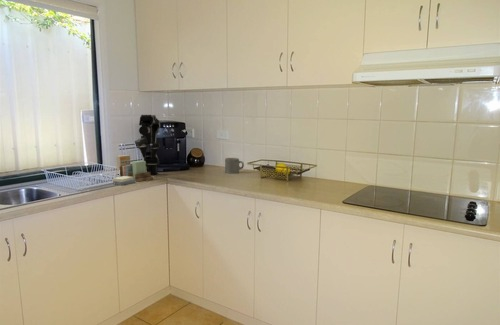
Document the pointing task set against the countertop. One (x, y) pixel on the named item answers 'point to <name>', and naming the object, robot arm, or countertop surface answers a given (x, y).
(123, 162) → the supplement box
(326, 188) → the countertop surface
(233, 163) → the coffee mug
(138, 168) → the sage book
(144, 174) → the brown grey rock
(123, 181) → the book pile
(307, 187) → the countertop surface
